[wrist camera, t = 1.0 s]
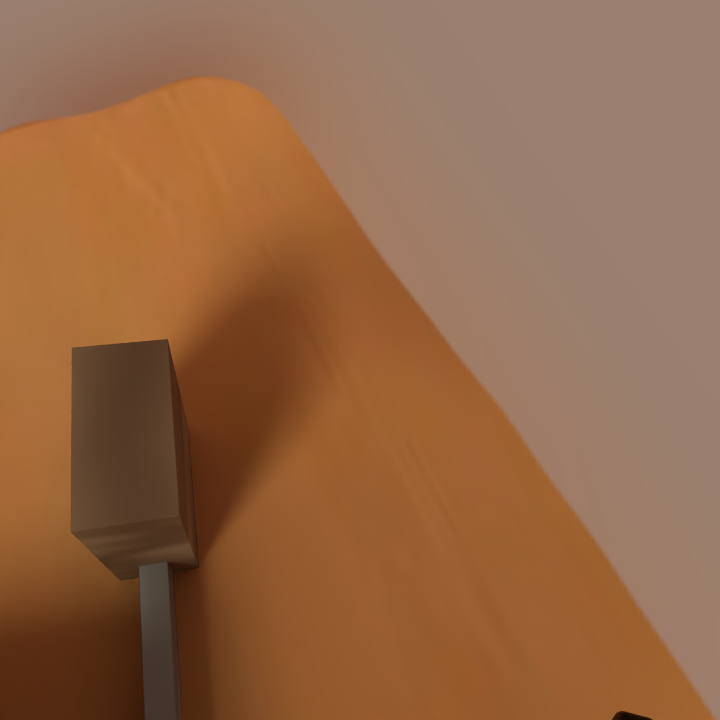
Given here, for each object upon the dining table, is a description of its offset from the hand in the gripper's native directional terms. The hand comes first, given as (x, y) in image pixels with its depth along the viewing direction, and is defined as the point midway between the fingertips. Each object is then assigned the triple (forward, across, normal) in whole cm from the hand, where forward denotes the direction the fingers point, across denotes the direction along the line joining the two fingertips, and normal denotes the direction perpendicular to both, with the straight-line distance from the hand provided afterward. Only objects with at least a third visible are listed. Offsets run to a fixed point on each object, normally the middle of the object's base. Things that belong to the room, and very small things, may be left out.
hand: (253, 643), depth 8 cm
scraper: (+13, +6, +12) cm, 19 cm away
